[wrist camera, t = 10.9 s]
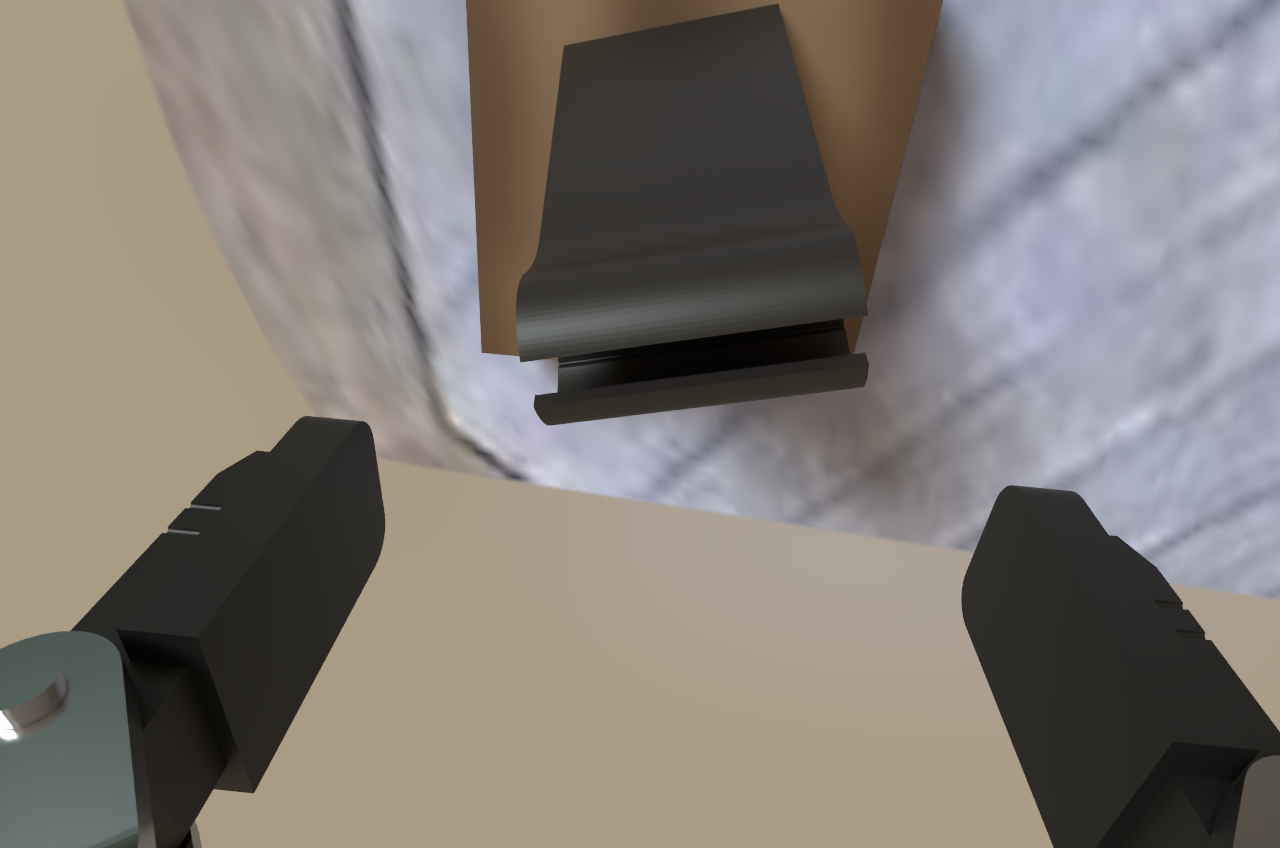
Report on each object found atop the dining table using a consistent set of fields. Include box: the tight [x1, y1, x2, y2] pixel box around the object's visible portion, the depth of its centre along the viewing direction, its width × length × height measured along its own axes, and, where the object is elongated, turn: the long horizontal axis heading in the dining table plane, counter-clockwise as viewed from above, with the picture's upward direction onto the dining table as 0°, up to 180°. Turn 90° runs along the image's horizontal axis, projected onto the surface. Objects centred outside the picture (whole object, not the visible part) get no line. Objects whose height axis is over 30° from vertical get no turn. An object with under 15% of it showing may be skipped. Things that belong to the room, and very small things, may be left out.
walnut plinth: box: [466, 0, 943, 360], centre depth 25 cm, size 13×13×4 cm
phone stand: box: [516, 3, 869, 425], centre depth 18 cm, size 9×6×12 cm, turn 10°
